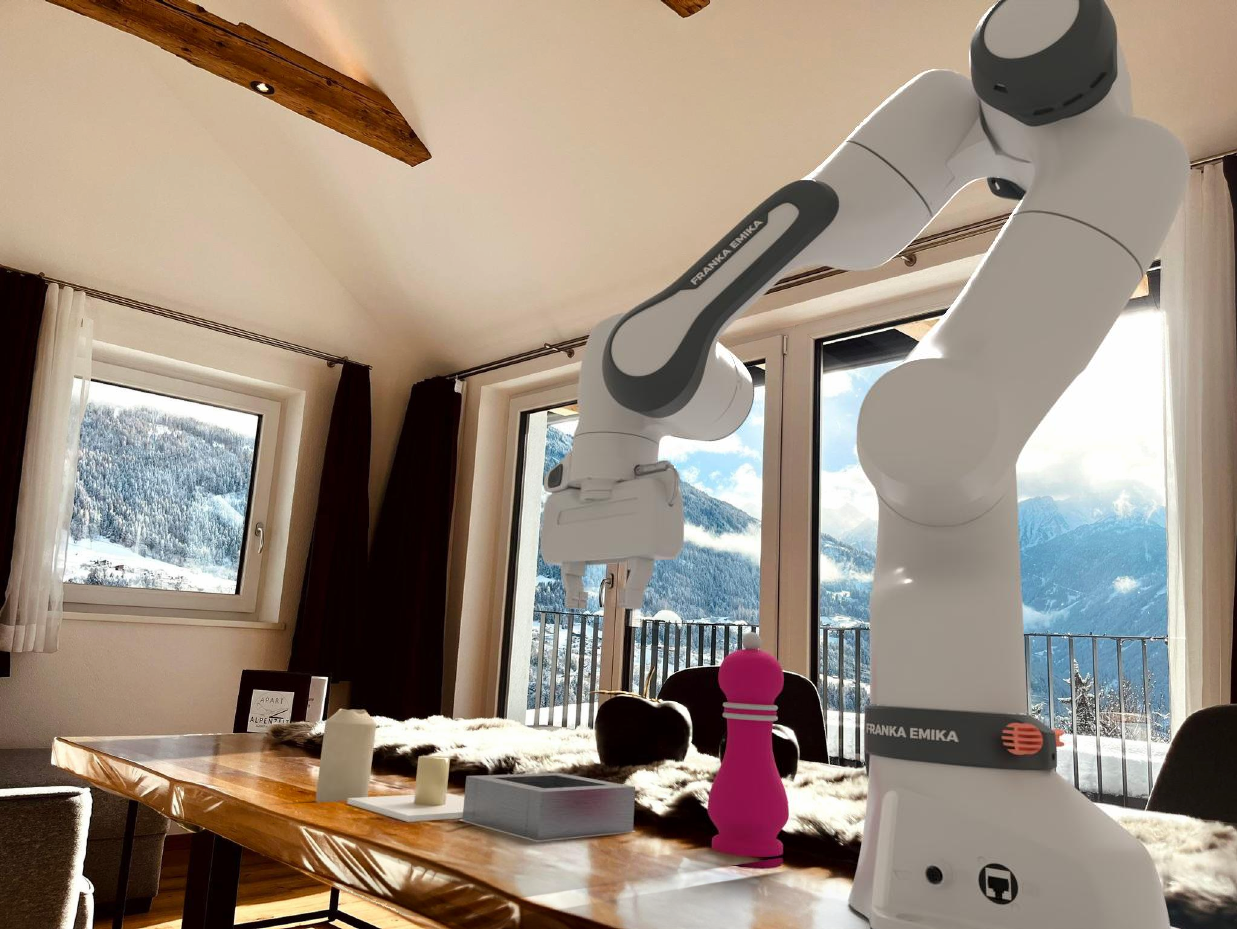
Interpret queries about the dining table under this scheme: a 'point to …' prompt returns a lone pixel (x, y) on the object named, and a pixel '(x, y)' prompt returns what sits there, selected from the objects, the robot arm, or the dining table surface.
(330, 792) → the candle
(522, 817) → the collar
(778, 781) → the pepper mill
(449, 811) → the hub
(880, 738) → the robot arm
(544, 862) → the dining table surface
